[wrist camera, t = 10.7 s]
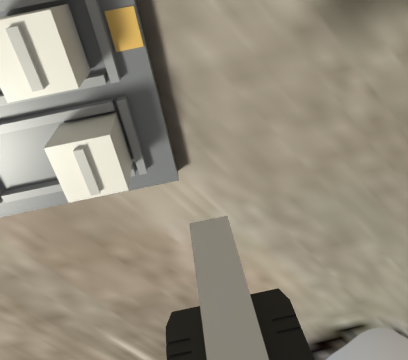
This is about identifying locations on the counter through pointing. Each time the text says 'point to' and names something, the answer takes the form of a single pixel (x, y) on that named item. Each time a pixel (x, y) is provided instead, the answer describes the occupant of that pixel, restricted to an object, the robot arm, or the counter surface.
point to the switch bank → (86, 106)
